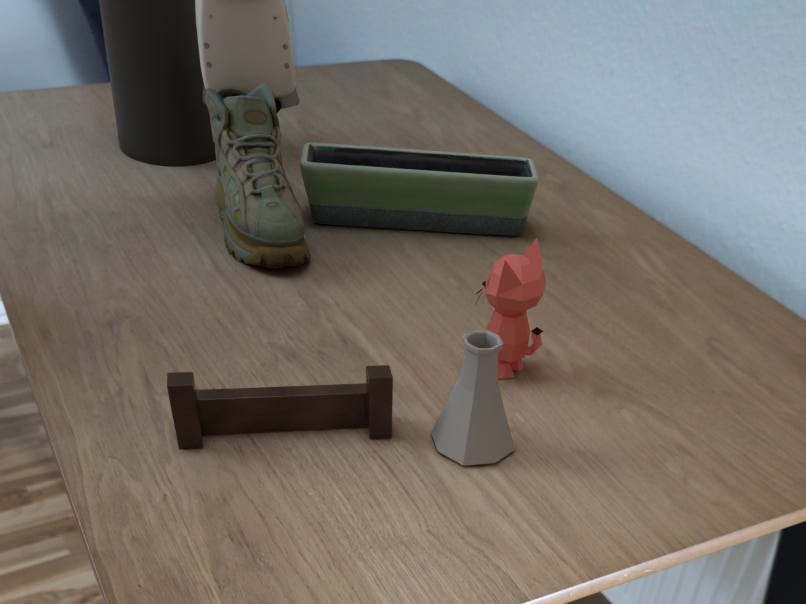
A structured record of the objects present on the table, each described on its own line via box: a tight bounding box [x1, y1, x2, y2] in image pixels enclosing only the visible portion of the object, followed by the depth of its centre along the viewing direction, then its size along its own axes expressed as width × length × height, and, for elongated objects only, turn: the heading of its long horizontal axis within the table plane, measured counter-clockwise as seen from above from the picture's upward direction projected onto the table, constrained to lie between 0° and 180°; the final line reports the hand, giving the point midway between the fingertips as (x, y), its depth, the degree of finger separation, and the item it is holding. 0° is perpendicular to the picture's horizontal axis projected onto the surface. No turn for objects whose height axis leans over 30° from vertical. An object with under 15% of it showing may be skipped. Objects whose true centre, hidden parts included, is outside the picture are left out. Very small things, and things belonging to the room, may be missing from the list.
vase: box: [98, 0, 216, 167], centre depth 108 cm, size 14×14×29 cm
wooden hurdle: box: [166, 364, 394, 450], centre depth 75 cm, size 18×3×6 cm, turn 102°
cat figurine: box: [474, 237, 547, 380], centre depth 83 cm, size 7×7×12 cm
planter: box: [299, 141, 539, 237], centre depth 107 cm, size 28×7×7 cm, turn 94°
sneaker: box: [205, 83, 311, 269], centre depth 97 cm, size 11×19×15 cm, turn 12°
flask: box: [430, 329, 516, 466], centre depth 75 cm, size 7×7×10 cm
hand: (257, 159), depth 106 cm, fingers closed
